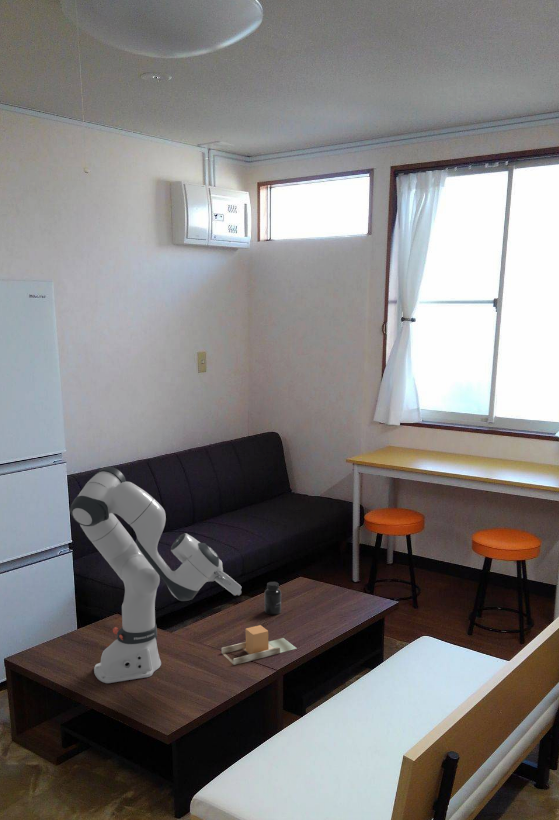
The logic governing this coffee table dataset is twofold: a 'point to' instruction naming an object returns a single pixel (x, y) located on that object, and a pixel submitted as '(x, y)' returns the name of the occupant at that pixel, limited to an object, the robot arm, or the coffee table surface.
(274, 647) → the chute
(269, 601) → the supplement bottle
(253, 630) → the orange block
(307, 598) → the coffee table surface
